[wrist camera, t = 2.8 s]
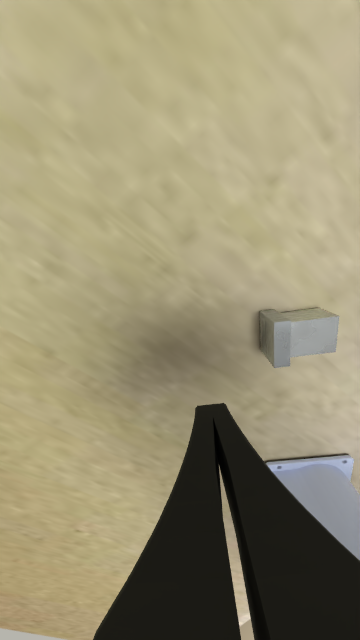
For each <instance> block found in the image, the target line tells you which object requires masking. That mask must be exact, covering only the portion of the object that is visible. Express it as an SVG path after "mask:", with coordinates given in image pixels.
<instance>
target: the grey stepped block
mask: <svg viewBox="0 0 360 640" xmlns="http://www.w3.org/2000/svg"><path fill="white" fill-rule="evenodd" d="M338 324H339V316H338V315H336V314H333V313H331V312H328V311H326V310H324V309H321V308H312V309H305V310H297V311H290V312H282V313H279V312H277V311H276V310H274V309H272V310H265V311H260V344H261V351H262V353H263V354H264V355H265V357H266V358H267V359H268V360H269V362H270V363H271V364H272V366H273V367H274V368H279V367H287V366H290V357H298V356H306V355H314V354H323V353H331V352H336V344H337V334H338Z"/></svg>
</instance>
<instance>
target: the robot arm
mask: <svg viewBox="0 0 360 640" xmlns="http://www.w3.org/2000/svg"><path fill="white" fill-rule="evenodd" d="M353 462H354V459H353V458H352V457H351V456H350V455H343V456H332V457H320V458H309V459H298V460H286V461H275V462H267V463H265V462H264V461H263V460H262V458H261V457H260V456H259V455H258V453H257V452H256V451H255V449H254V448H253V447H252V445H251V444H250V443H249V441H248V440H247V438H246V437H245V436H244V434H243V433H242V431H241V430H240V428H239V427H238V425H237V424H236V422H235V420H234V419H233V417H232V415H231V414H230V412H229V410H228V408H227V406H226V404H224V403H220V404H211V405H202V406H197V407H196V408H195V419H194V424H193V429H192V433H191V437H190V441H189V444H188V448H187V451H186V454H185V457H184V460H183V463H182V466H181V469H180V472H179V474H178V477H177V480H176V482H175V485H174V487H173V490H172V492H171V494H170V497H169V499H168V501H167V503H166V506H165V508H164V510H163V512H162V514H161V516H160V519H159V521H158V523H157V525H156V527H155V529H154V531H153V533H152V535H151V537H150V538H149V540H148V542H147V544H146V546H145V548H144V550H143V552H142V553H141V555H140V557H139V559H138V561H137V563H136V565H135V567H134V568H133V570H132V572H131V574H130V575H129V577H128V579H127V581H126V582H125V584H124V586H123V587H122V589H121V591H120V592H119V594H118V596H117V597H116V599H115V601H114V602H113V604H112V606H111V607H110V609H109V611H108V613H107V614H106V616H105V618H104V619H103V621H102V623H101V624H100V626H99V628H98V629H97V631H96V633H95V636H94V639H93V640H241V636H240V629H239V622H238V615H237V609H236V602H235V596H234V589H233V582H232V576H231V569H230V562H229V556H228V549H227V542H226V536H225V529H224V522H223V513H222V500H221V487H220V475H219V466H220V470H221V475H222V479H223V483H224V487H225V491H226V495H227V499H228V503H229V507H230V511H231V516H232V520H233V524H234V528H235V533H236V538H237V543H238V548H239V554H240V560H241V565H242V571H243V576H244V582H245V588H246V594H247V599H248V605H249V611H250V616H251V622H252V628H253V633H254V639H255V640H360V494H359V493H358V492H357V490H356V489H355V487H354V486H353V485H352V483H351V482H350V481H351V475H352V468H353Z"/></svg>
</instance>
